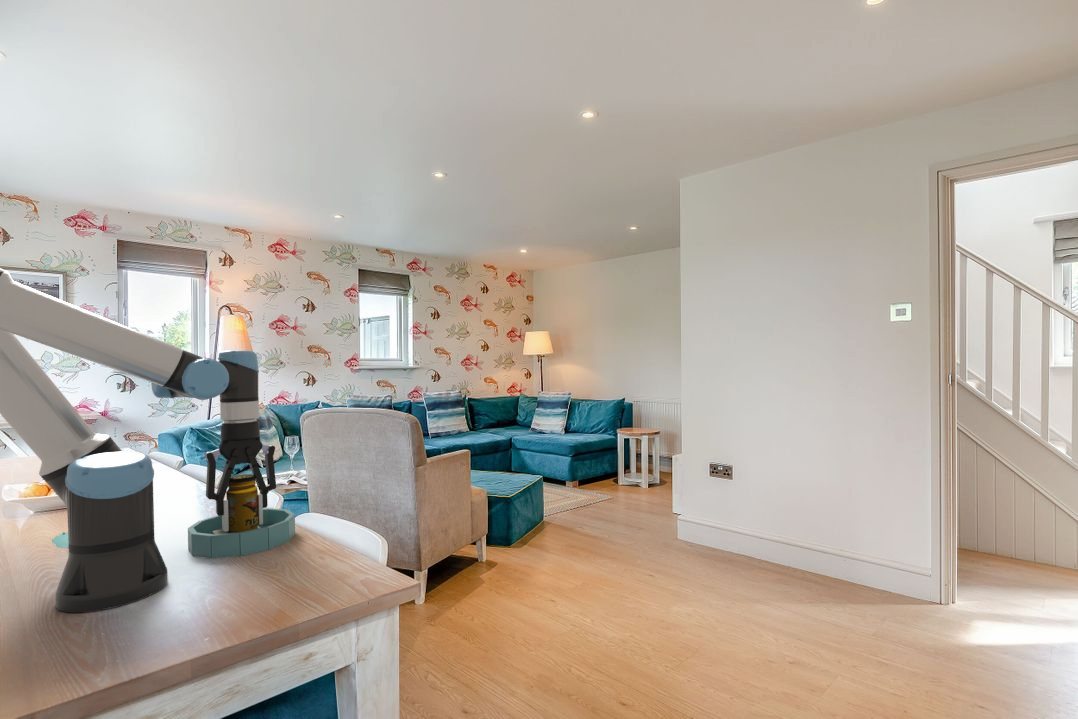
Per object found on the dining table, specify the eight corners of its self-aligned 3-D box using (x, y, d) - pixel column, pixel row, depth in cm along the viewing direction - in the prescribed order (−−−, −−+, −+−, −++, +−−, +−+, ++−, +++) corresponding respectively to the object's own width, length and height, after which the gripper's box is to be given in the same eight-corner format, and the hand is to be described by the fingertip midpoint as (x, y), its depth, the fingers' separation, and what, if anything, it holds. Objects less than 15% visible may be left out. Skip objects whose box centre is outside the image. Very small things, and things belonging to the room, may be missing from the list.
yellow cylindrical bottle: (264, 530, 120) (263, 475, 120) (220, 540, 114) (219, 482, 114) (254, 524, 125) (253, 471, 125) (212, 532, 119) (211, 477, 120)
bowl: (305, 541, 119) (304, 520, 119) (198, 565, 106) (197, 542, 106) (279, 522, 134) (279, 503, 134) (183, 541, 121) (182, 521, 121)
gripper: (281, 416, 129) (284, 514, 129) (186, 423, 117) (189, 532, 117) (291, 418, 123) (293, 520, 123) (192, 426, 111) (194, 540, 111)
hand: (242, 526), depth 120 cm, fingers closed on yellow cylindrical bottle, 6 cm apart
